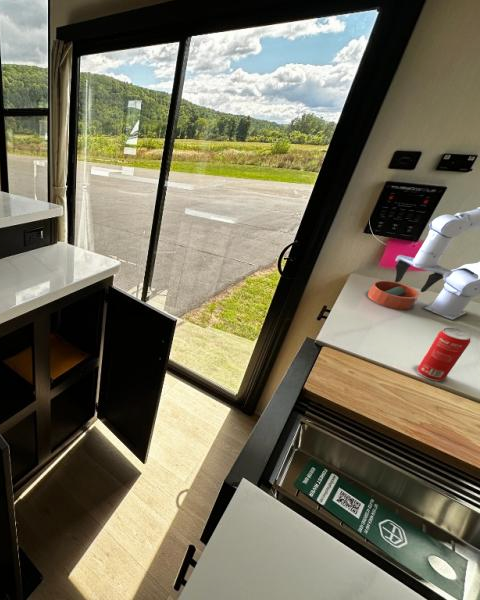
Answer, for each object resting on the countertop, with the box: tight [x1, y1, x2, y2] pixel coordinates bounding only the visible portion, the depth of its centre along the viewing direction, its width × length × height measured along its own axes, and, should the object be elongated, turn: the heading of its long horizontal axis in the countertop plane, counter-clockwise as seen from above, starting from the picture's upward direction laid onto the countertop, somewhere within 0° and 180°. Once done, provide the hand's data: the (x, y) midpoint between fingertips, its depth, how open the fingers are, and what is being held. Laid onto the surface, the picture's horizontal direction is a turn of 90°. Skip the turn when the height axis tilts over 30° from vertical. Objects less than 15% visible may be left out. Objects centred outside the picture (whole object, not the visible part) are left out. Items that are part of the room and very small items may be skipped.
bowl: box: [367, 279, 420, 310], centre depth 122 cm, size 13×13×5 cm
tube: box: [385, 287, 406, 297], centre depth 122 cm, size 9×4×4 cm, turn 114°
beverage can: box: [416, 327, 472, 382], centre depth 87 cm, size 6×6×15 cm
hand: (409, 286), depth 114 cm, fingers open, 7 cm apart
